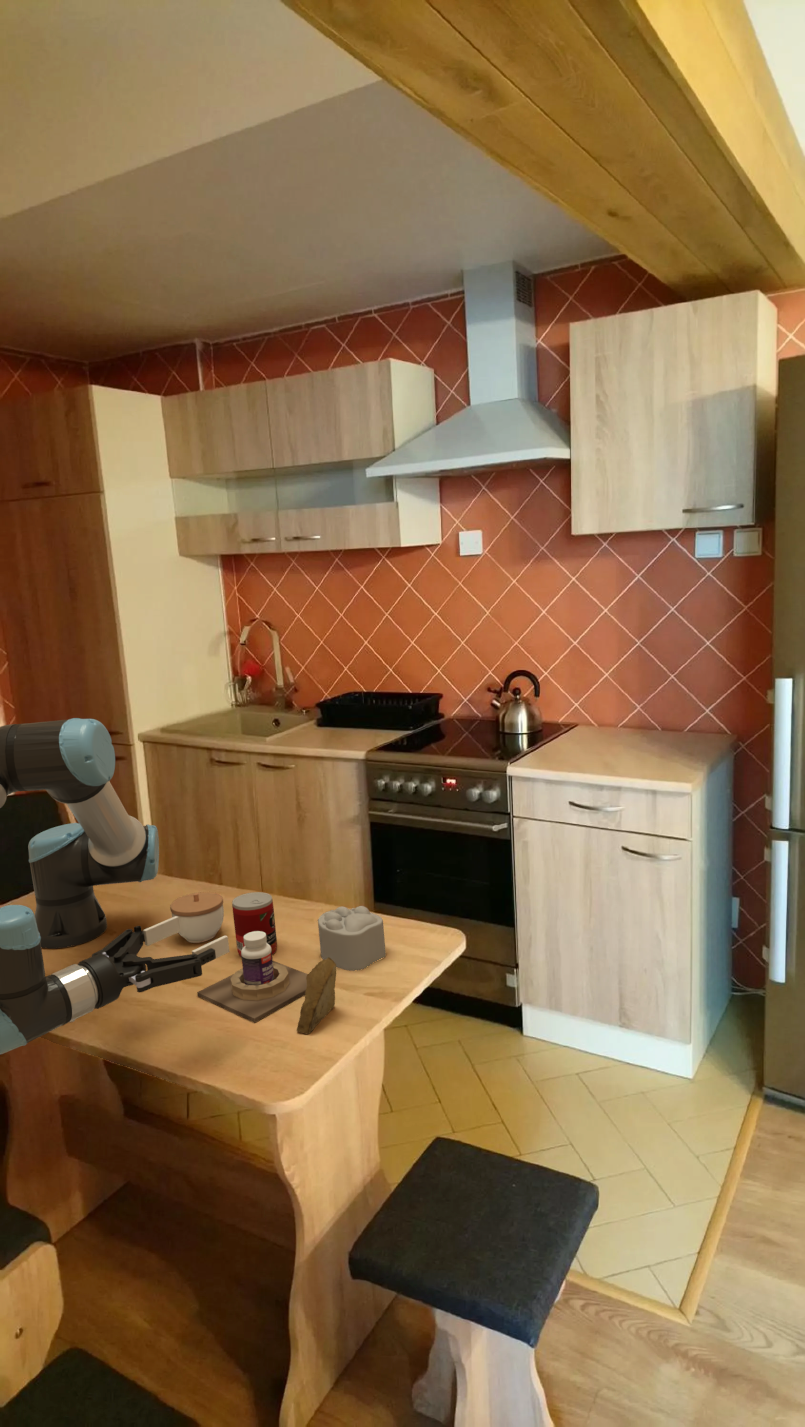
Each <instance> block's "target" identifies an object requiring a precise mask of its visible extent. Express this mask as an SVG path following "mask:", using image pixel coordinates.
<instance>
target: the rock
mask: <svg viewBox="0 0 805 1427" xmlns="http://www.w3.org/2000/svg"><path fill="white" fill-rule="evenodd" d="M306 974H307V976H306V980H307V988H306V992H305V995H304V1001H303V1002H302V1005H301V1008H300V1013H299V1014H300V1015H299V1020H298V1023H297V1028H296V1032H297V1033H298V1032H299V1033H303V1034H304V1035H305V1034H307V1035H308V1034H310V1033H311V1032H312V1031H313V1030H314V1029H315V1028H316V1027H317V1025H319V1023H320V1022H321V1021H322V1020H324V1019H325V1017H326V1016H328V1014H329V1012H330V1011H331V1010H332V1009H334V1007H335V1004H336V990H335V988H336V980H337V978H336V977H337V967H336V963H335V962H334V961H333V960H332V959H331V958H330V957H328V958H327V959H326V960H325V959H324V960H323V959H322V960H320V961H319V962H317V964H316V965H315V966H314V967H312V969H311V970H310V971H309V972H308V973H306Z"/></svg>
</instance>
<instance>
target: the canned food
mask: <svg viewBox="0 0 805 1427" xmlns="http://www.w3.org/2000/svg"><path fill="white" fill-rule="evenodd" d="M231 903H232V904H231V905H232V906H231V907H232V918H233V924H234V925H233V926H234V933H235V941H236V942H235V943H236V951H237V953H238V955H239V957H241V951H242V949H243V947H244V946H245V945H244V935H246V934H247V933H250V932H254V931H262V932H265V933H266V938H267V942H266V943H268V944H269V945H270V946H271V950H272V955H274V954H275V953H277V952H276V951H277V948H278V940H277V938H278V937H277V931H276V930H277V929H276V920H275V912H274V911H275V910H274V902H273V896H272V894H269V893H267V892H262V891H261V892H260V891H259V892H258V891H257V892H247V893H244V894H240V895H237V896H236V897H234V898H233V900H232V902H231Z"/></svg>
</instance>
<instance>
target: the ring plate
mask: <svg viewBox="0 0 805 1427" xmlns="http://www.w3.org/2000/svg"><path fill="white" fill-rule="evenodd" d="M273 970H274V980H273V981H271V982H269V983H267V984H262V985H246V984H244V976H243V967H242V968H240V969H238V970H236V971H235V972H234V973H233V974H231V975H229V976H227V977H225V978H222V979H221V980H219V981H216V982H215V983H213V984H210V985H209V986H206V987H204V988H202V989H201V990H199V991H197V993H196V994H197V997H198V998H201V999H203V1000H205V1001H206V1002H209V1003H211V1004H213V1005H215V1006H217V1007H219V1008H222V1009H224V1010H226V1011H228V1012H231V1013H232V1014H234V1015H237V1016H239V1017H241V1018H244V1019H246V1020H248V1021H249V1022H252V1023H254V1024H255V1023H258V1022H259V1021H261V1020H263V1019H265V1018H266V1017H268V1016H269V1015H272V1014H273V1013H276V1012H277V1011H279V1010H280V1009H282V1008H284V1007H286V1006H288V1005H289V1004H291V1003H292V1002H294V1001H295V1002H296V1001H297V1000H298V999H300V998H302V997H305V992H306V988H307V980H306V976H307V974H308V973H306V972H304V971H300V970H299V969H295V968H293V967H291V966H288V965H285V964H282V963H280V962H277V961H274V960H273Z"/></svg>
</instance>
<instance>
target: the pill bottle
mask: <svg viewBox="0 0 805 1427" xmlns="http://www.w3.org/2000/svg"><path fill="white" fill-rule="evenodd" d="M266 942H267V938H266V933H265V932H262V931H254V932H250V933H247V934H246V935H244V945H245V946H244V947H243V949H242V951H241V956H240V958H241V964H242V968H243V976H244V984H246V985H262V984H267V983H269V982H271V981H273V980H274V970H273V961H274V960H273V954H272V950H271V946H270V945H269V944H268V943H266Z"/></svg>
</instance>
